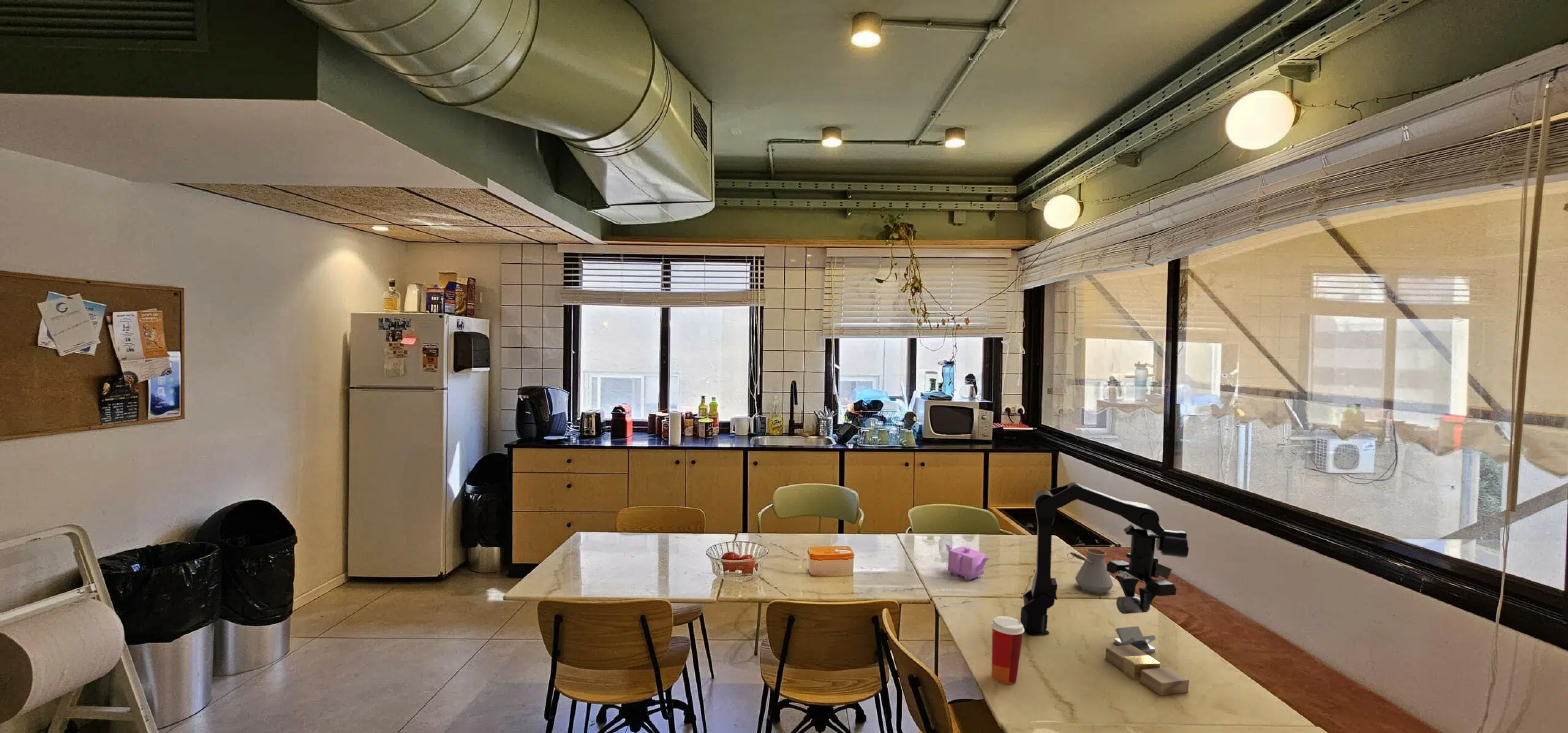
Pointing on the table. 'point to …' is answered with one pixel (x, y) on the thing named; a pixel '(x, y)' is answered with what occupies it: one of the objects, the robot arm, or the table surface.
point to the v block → (1134, 639)
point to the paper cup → (1006, 648)
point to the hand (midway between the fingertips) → (1137, 608)
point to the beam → (1150, 672)
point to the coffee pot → (1093, 572)
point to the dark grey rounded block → (1129, 604)
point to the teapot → (966, 562)
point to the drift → (1138, 665)
